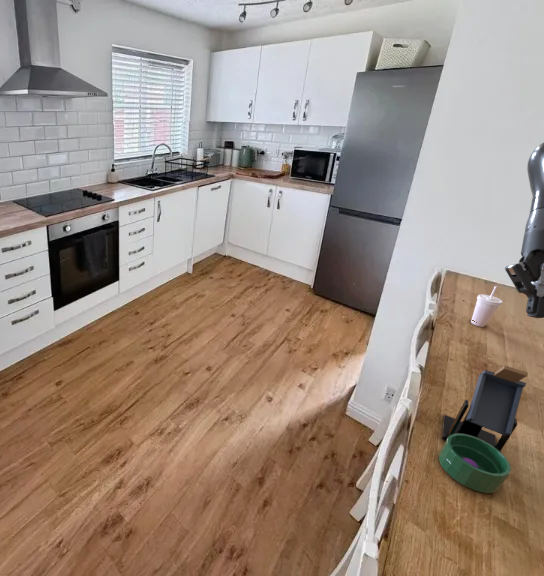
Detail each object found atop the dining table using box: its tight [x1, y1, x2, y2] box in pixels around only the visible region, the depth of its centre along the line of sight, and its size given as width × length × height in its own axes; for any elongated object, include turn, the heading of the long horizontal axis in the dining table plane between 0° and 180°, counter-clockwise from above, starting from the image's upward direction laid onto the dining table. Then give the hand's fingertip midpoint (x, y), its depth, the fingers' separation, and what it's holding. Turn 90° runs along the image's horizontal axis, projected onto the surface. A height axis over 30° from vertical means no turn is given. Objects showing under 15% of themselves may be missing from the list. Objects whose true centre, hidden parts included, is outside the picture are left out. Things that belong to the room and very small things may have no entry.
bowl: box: [438, 433, 512, 494], centre depth 69 cm, size 9×9×5 cm
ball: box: [462, 458, 479, 469], centre depth 69 cm, size 3×3×3 cm
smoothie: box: [470, 285, 503, 328], centre depth 121 cm, size 6×6×14 cm
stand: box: [441, 399, 518, 452], centre depth 75 cm, size 9×9×10 cm
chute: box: [466, 365, 529, 436], centre depth 68 cm, size 10×6×8 cm
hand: (536, 317), depth 72 cm, fingers closed
